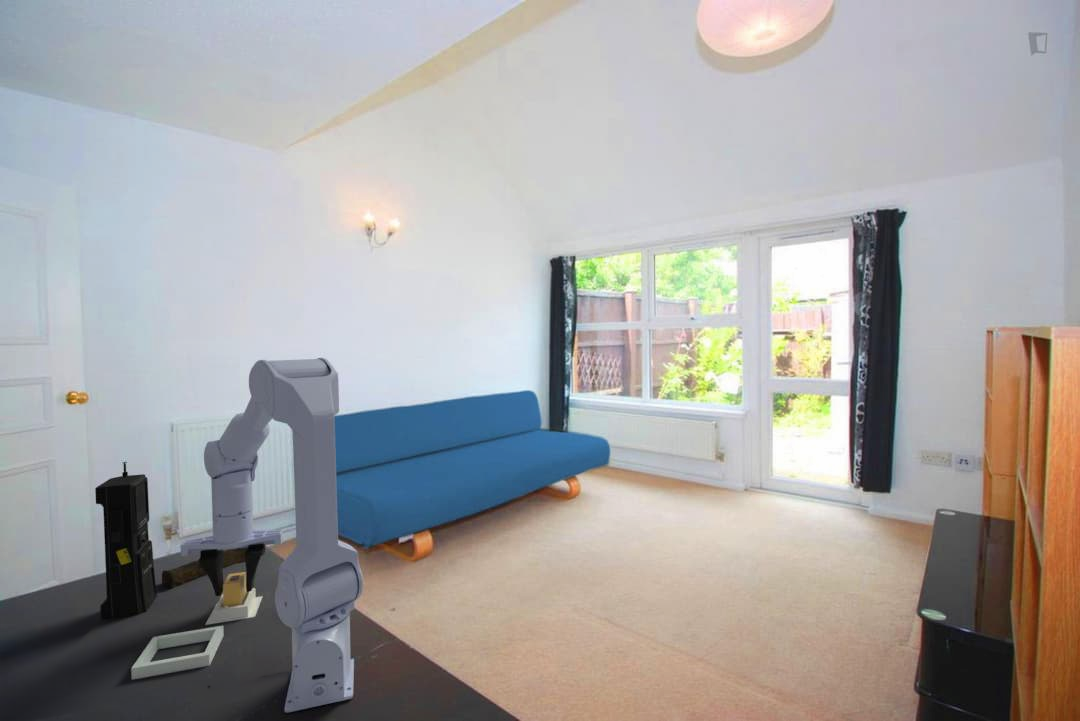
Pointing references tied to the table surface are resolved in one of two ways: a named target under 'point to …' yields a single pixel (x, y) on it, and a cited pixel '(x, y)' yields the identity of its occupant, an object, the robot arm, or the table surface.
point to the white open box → (235, 609)
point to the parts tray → (179, 663)
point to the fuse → (234, 589)
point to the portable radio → (127, 546)
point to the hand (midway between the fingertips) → (234, 591)
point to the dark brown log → (200, 568)
